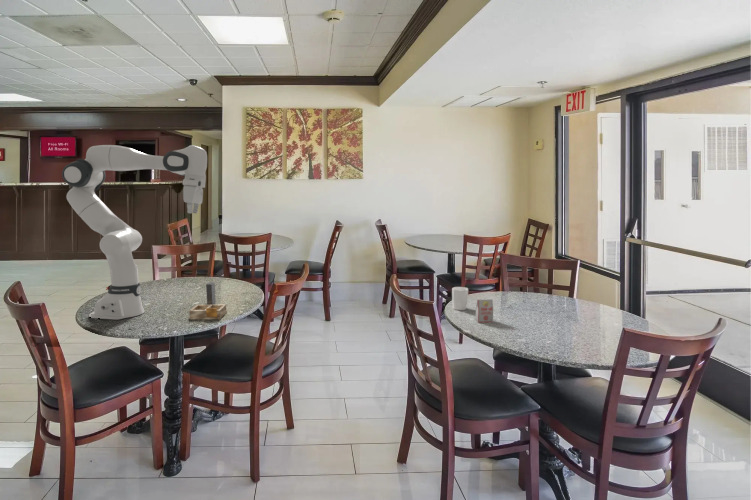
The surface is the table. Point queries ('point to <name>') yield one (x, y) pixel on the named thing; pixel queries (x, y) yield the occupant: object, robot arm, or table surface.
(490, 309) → the red and white carton
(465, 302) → the white cup
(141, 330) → the table surface
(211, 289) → the block
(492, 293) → the table surface
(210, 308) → the wooden divided box
